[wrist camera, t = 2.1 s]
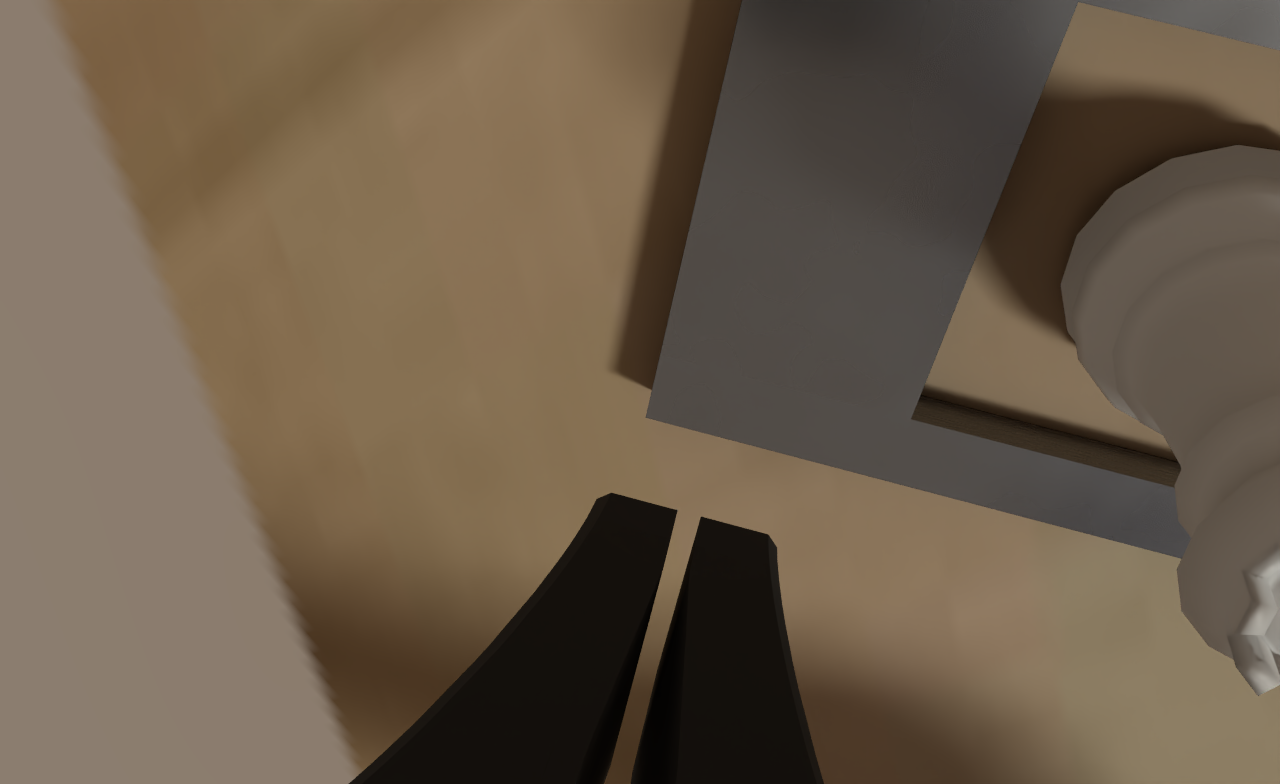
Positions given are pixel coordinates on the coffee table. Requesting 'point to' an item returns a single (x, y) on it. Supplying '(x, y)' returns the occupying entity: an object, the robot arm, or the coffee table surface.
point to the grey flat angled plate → (887, 250)
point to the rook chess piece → (1199, 371)
